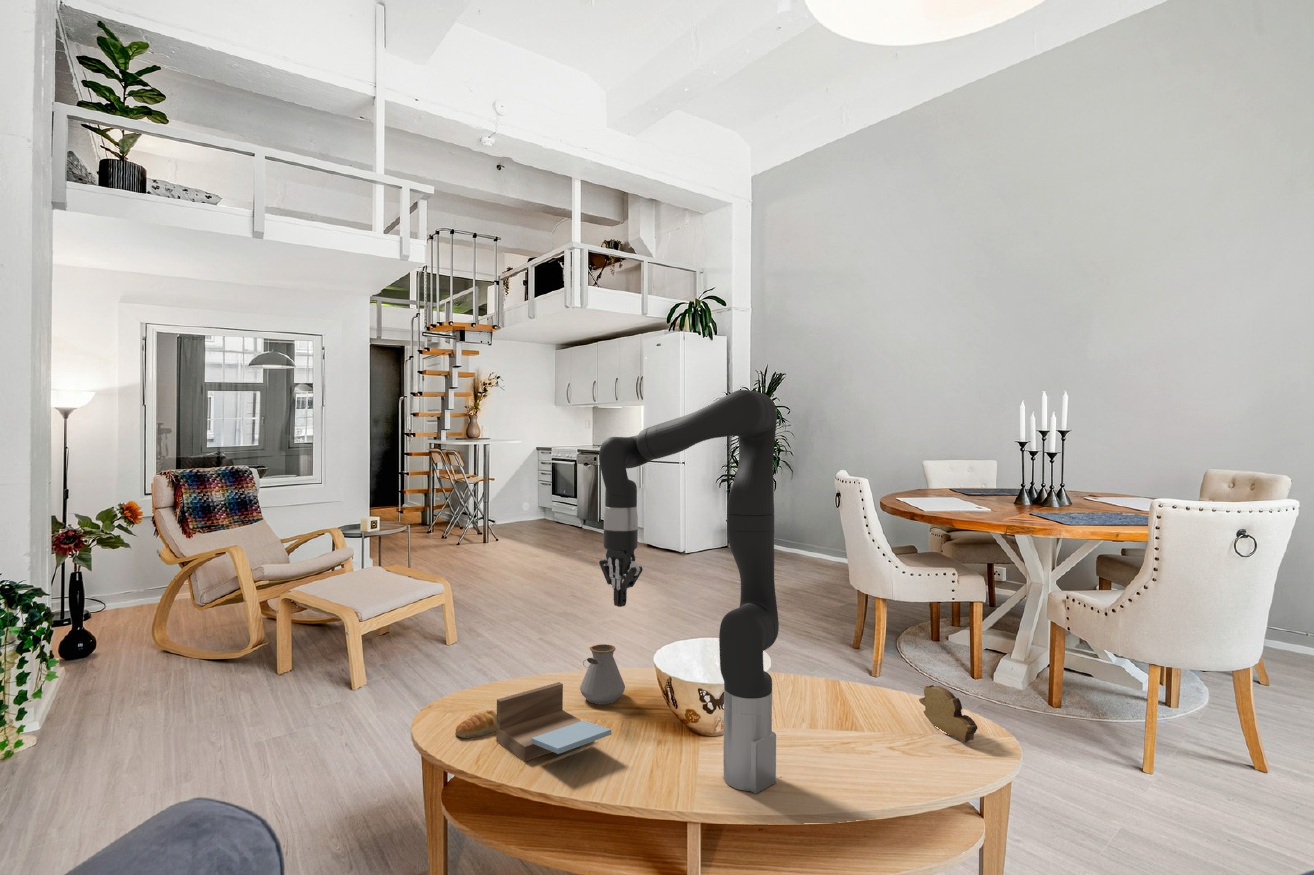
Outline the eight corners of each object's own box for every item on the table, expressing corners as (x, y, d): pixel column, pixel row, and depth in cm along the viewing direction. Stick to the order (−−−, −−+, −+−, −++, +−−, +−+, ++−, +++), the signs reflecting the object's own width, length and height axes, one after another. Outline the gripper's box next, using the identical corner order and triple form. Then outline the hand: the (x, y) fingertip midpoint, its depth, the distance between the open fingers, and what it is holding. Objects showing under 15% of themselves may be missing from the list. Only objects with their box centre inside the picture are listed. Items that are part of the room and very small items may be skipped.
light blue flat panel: (531, 738, 131) (557, 748, 124) (583, 720, 140) (611, 729, 132) (531, 747, 131) (558, 758, 123) (583, 729, 139) (611, 738, 132)
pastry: (464, 744, 138) (464, 726, 138) (449, 734, 143) (449, 717, 143) (502, 730, 145) (502, 713, 145) (486, 721, 149) (486, 705, 149)
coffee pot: (586, 688, 170) (587, 632, 170) (629, 691, 168) (629, 634, 168) (562, 722, 148) (563, 657, 149) (610, 726, 147) (611, 660, 147)
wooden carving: (984, 747, 138) (984, 701, 139) (968, 750, 137) (968, 703, 137) (928, 717, 154) (928, 675, 154) (912, 719, 152) (913, 677, 153)
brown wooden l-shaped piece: (589, 738, 140) (589, 697, 141) (524, 761, 130) (525, 717, 130) (558, 720, 149) (559, 682, 150) (496, 741, 139) (496, 699, 139)
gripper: (653, 528, 139) (652, 609, 139) (615, 523, 149) (614, 598, 149) (626, 531, 134) (625, 614, 134) (589, 525, 144) (588, 602, 144)
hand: (619, 605), depth 141 cm, fingers closed
